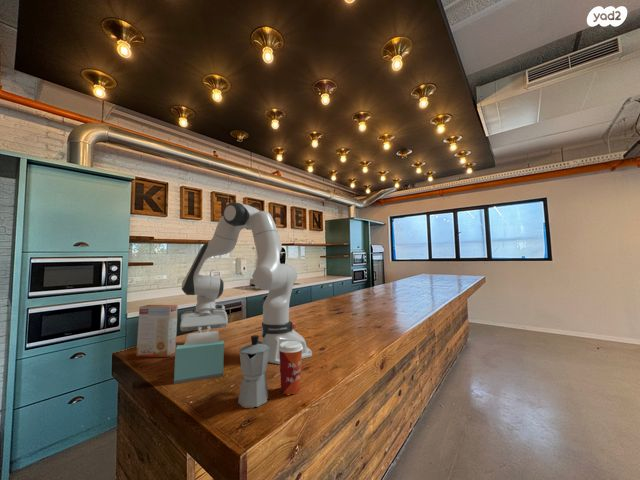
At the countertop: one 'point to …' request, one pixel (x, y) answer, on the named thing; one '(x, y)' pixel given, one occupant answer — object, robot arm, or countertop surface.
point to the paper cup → (290, 366)
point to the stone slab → (202, 337)
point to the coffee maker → (253, 373)
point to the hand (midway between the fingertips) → (204, 336)
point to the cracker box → (157, 330)
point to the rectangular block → (198, 361)
